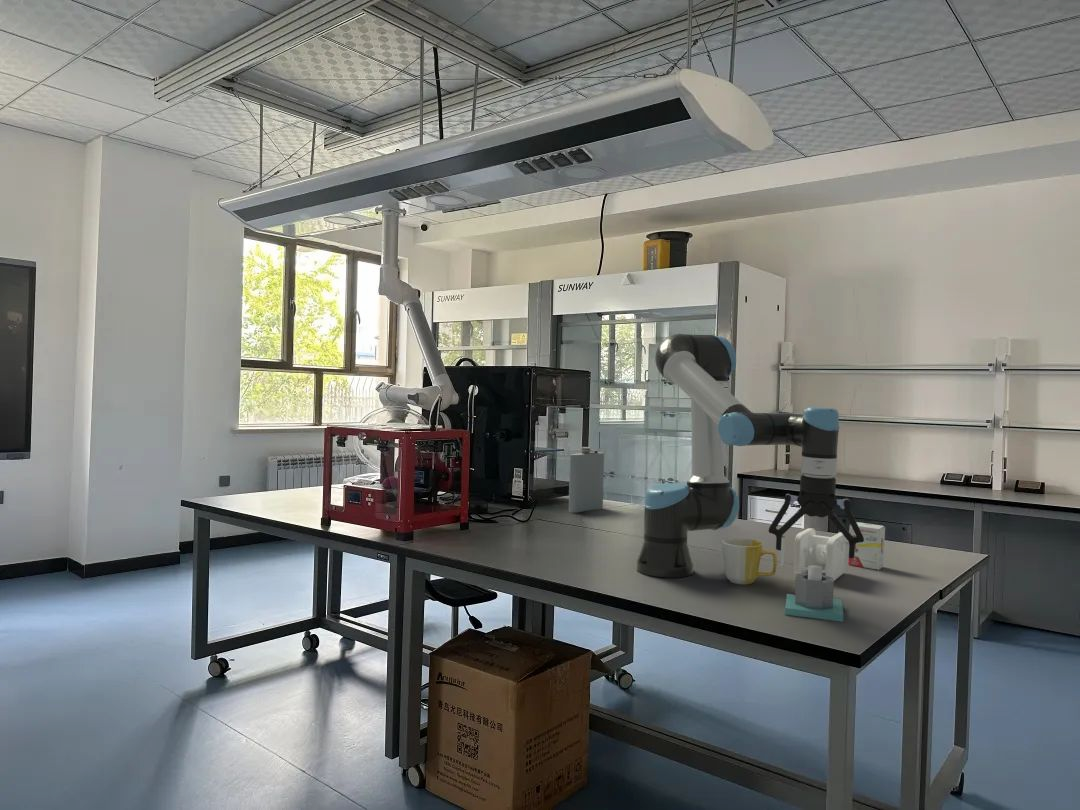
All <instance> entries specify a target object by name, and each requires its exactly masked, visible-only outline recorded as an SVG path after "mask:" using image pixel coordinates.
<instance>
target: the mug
mask: <svg viewBox="0 0 1080 810" xmlns="http://www.w3.org/2000/svg"><path fill="white" fill-rule="evenodd" d="M763 546H764V544H763V542H762V541H760V540H757V539H754V538H747V537H729V538H728V537H726V538H724V539H722V540H721V547H722V549H721V550H722V555H723V556H722V557H723V563H724V570H725V571H724V572H725V576H726V578H727V579H728V580H729V582H730V583H732V584H736V585H751V584H752V583H754V582H755V580H756V579H757V578H758V577H771V576H774V575H776V573H777V572H776V571H777V566H778V565H777V564H778V560H777V559H778V557H777V556H778V555H777V552H776V551H773V550H765V549H764V550H763ZM765 555H772V558H773V568H772V571H771V572H763V571H762V572H760V571H759V568H760V563H761V557H762V556H765Z"/></svg>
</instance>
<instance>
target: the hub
mask: <svg viewBox="0 0 1080 810" xmlns="http://www.w3.org/2000/svg"><path fill="white" fill-rule="evenodd" d="M834 582H835V581H834V580H833V578H832V577H828V576H826V574H822V581H814V580H808V572H806V573H802V574H796V575H795V593H794V595H795V604H797V605H799V606H802V607H804V608H810V609H818V610H824V609H831V608H833V599H834V589H835V588H834V585H835V584H834Z"/></svg>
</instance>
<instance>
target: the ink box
mask: <svg viewBox="0 0 1080 810" xmlns="http://www.w3.org/2000/svg"><path fill="white" fill-rule="evenodd" d="M856 522H857V521H856ZM857 525H858V527H859V529H860V531H861V533H862V535H863V538H864V541H863V542H859V543H856V544H855V551H854V558H849V562H848V566H853V567H859V568H866V569H872V570H876V569H877V570H881V569H882V568H884V564H885V563H884V561H885V559H884V557H885V540H886V539H885V537H886V526H884V525H880V524H873V523H865V522H857ZM848 531H849V532H850V534H851V535H852V536H853V537H855V536H856V534H855V532H854V530H853V528H852V526H851V524H849V530H848Z"/></svg>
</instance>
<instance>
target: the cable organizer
mask: <svg viewBox="0 0 1080 810" xmlns="http://www.w3.org/2000/svg"><path fill="white" fill-rule="evenodd" d="M845 542H849V541H848V540H847V539H846V538H845V536H844V535H843V534H842V533H841V531H838V532H837V533H835V535H833V536H823V535H818V534H816V529H815V528H811V527H808V528H806V529H804V530H802V531H800V532H798V533H797V534H796V536H795V539H794V562H793V563H794V564H793V567H794V568H793V569H794V570H793V572H794V574H795V576H796V574H802V573H808V566H809V565H816V566H821V567H822V574H824V575H825V576H828V577H832V578H833V580H834V582H835V581H836V580H837V579H838V578H840V577H841V576H842V575H844V574H845V573H844V556H845Z"/></svg>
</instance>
